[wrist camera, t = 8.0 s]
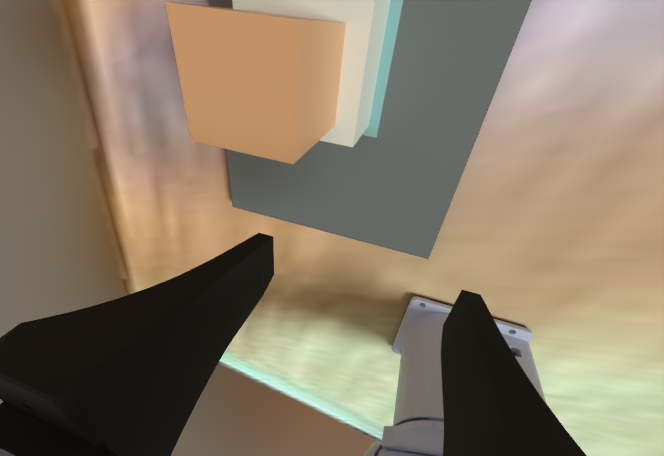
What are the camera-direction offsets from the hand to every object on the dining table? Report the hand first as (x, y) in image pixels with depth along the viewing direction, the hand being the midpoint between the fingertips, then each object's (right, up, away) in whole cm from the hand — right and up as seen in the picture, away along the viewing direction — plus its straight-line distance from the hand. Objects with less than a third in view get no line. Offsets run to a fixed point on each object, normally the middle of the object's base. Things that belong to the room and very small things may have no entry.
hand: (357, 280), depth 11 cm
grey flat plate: (-1, +8, +8) cm, 11 cm away
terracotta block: (-3, +9, +2) cm, 10 cm away
